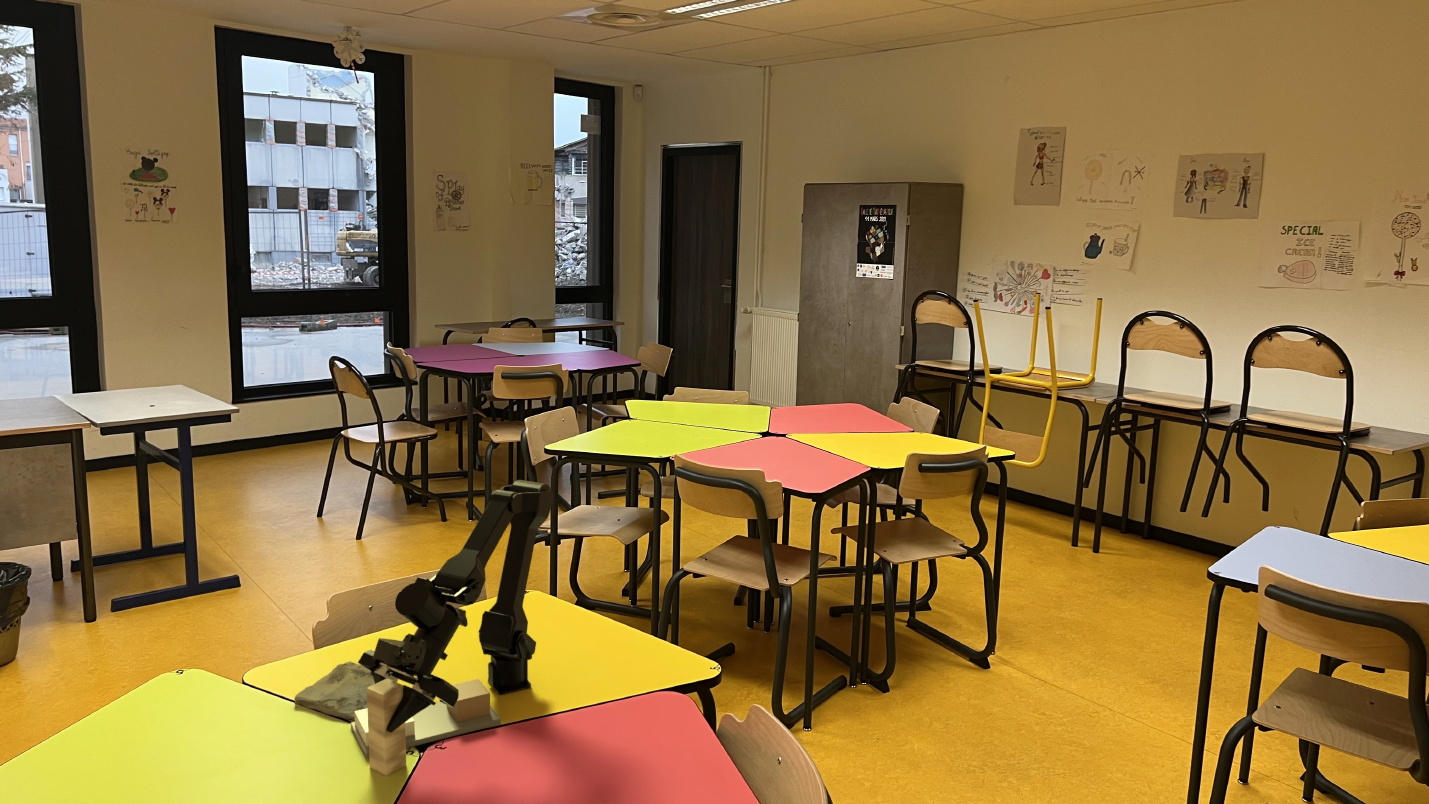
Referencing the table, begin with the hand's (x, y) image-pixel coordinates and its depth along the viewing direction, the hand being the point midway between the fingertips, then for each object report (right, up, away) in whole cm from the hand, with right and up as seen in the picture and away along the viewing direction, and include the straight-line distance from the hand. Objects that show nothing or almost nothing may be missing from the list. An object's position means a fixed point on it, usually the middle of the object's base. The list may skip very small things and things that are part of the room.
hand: (379, 727), depth 159 cm
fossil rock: (-14, -3, +26) cm, 30 cm away
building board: (+3, -5, +15) cm, 16 cm away
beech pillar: (+1, -7, +3) cm, 8 cm away
